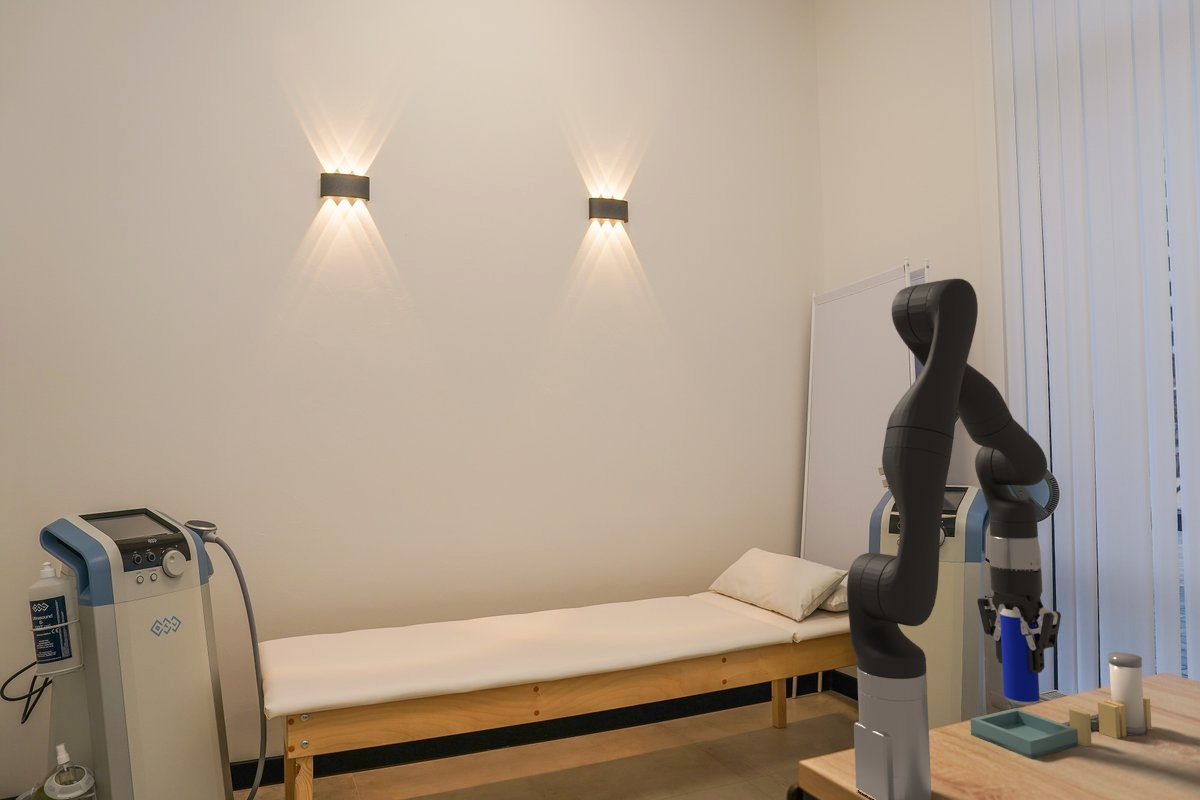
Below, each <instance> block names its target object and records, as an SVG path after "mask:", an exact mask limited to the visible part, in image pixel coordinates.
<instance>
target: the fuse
mask: <svg viewBox="0 0 1200 800" xmlns="http://www.w3.org/2000/svg"><path fill="white" fill-rule="evenodd" d="M1107 656H1108V657H1107V658H1108V664H1109V665H1108V666H1109V682H1110V683H1109V684H1110V699H1111V700H1110V701H1113V702H1117V703H1120V704H1123V705H1125V715H1126V734H1127V735H1128V736H1129V735H1130V736H1144V735H1146V728H1145V723H1144V705H1143V697H1144V691H1143V690H1144V689H1143V672H1142V671H1143V670H1142V666H1143V658H1142V657H1141V656H1140V655H1137V654H1133V653H1127V652H1109V653H1108V654H1107Z"/></svg>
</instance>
